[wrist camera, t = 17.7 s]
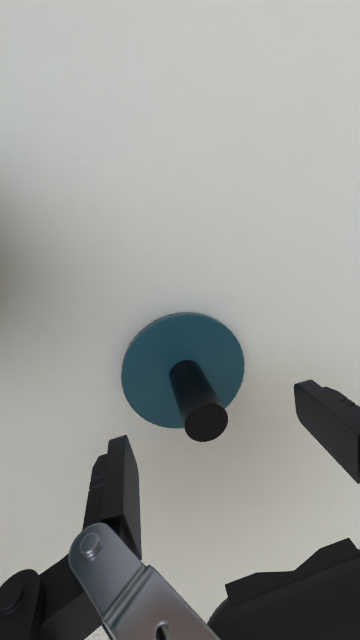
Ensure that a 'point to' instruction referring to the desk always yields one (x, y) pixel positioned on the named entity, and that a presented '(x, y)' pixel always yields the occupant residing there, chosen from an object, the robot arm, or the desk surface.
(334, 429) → the robot arm
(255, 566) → the desk surface
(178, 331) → the lid
